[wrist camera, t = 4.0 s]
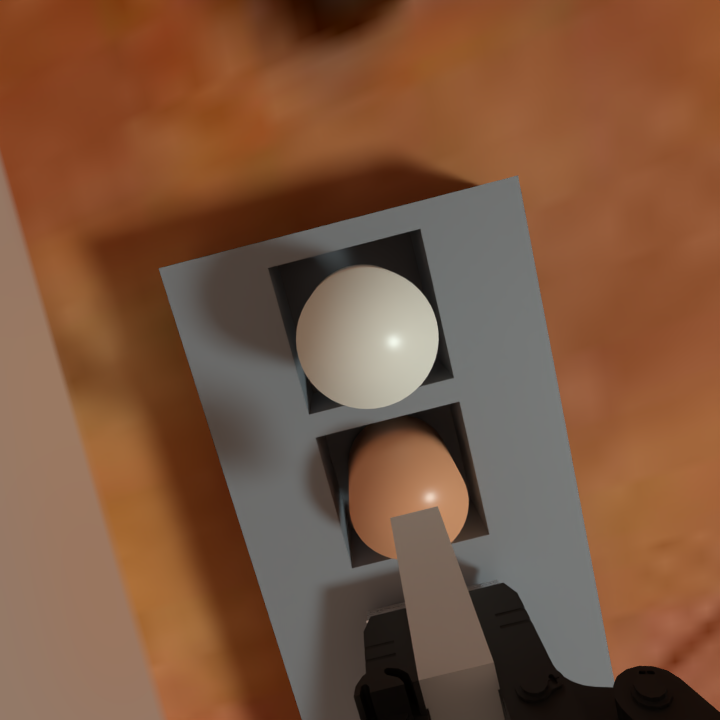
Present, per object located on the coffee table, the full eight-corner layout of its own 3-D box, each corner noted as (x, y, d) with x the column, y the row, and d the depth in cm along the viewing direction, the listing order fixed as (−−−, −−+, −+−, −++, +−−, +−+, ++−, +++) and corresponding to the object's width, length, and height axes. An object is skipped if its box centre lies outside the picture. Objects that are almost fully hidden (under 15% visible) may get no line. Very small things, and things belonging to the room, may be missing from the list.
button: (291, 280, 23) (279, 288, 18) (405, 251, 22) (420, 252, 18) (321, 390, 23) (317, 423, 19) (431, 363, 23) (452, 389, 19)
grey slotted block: (189, 265, 26) (148, 269, 21) (488, 188, 26) (527, 171, 20) (333, 736, 31) (332, 842, 26) (585, 674, 31) (639, 769, 25)
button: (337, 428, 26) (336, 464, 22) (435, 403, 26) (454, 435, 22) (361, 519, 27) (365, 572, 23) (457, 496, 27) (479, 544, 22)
